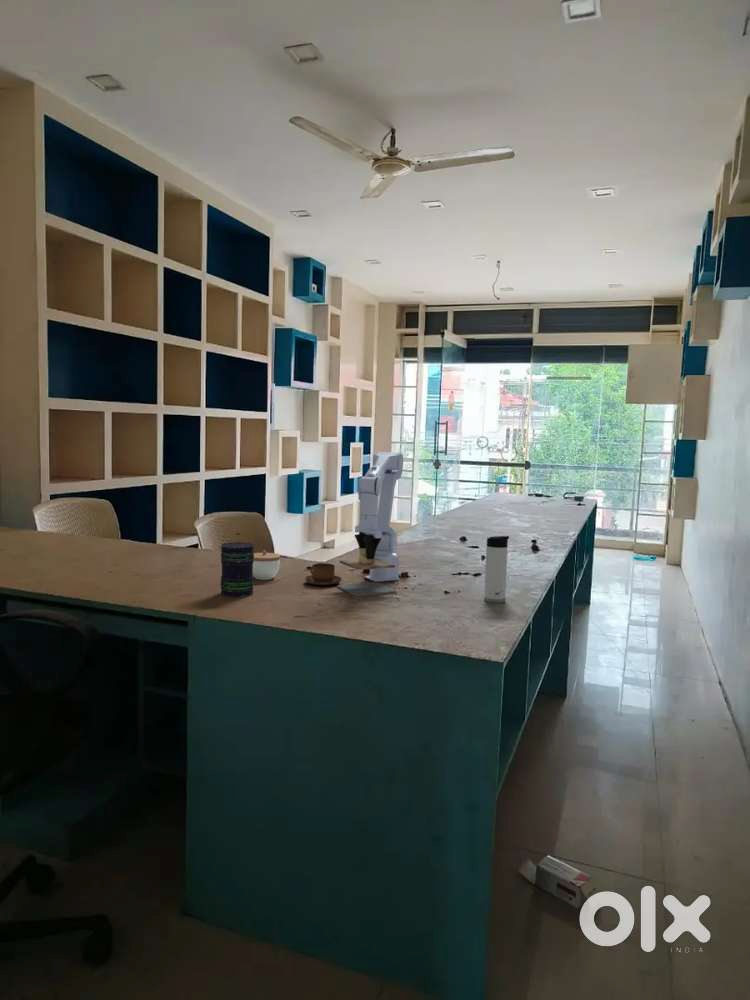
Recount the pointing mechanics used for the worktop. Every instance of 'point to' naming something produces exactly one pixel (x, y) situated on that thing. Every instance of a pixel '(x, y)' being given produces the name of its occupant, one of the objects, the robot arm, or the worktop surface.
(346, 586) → the mat
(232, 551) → the storage jar
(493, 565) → the travel mug
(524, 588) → the worktop surface
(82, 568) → the worktop surface
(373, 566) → the lid
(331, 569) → the cup and saucer
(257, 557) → the lidded jar
